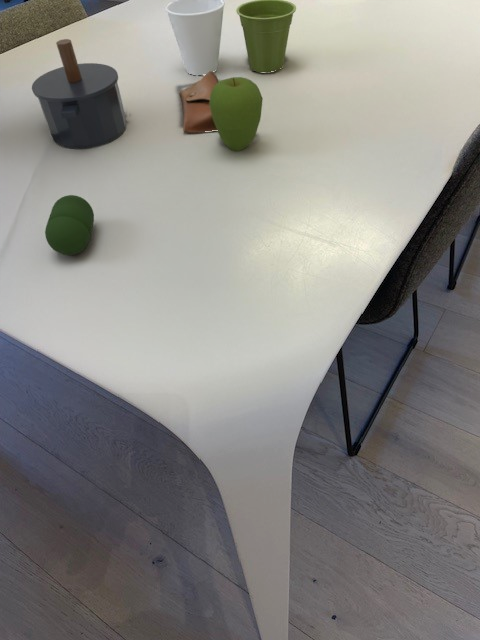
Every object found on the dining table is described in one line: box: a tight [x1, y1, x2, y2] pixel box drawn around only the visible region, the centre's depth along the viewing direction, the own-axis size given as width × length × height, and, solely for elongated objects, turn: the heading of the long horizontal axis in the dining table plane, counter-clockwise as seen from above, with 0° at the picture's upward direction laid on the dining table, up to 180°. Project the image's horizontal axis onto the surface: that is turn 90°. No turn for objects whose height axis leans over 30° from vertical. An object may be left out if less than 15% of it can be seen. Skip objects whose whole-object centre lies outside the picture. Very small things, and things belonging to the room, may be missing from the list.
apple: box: [209, 76, 264, 152], centre depth 79 cm, size 9×8×12 cm
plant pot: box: [235, 0, 297, 73], centre depth 102 cm, size 12×12×11 cm
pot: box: [37, 82, 128, 150], centre depth 88 cm, size 14×19×8 cm
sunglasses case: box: [179, 71, 220, 134], centre depth 92 cm, size 18×7×7 cm
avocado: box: [44, 194, 95, 256], centre depth 67 cm, size 10×6×6 cm, turn 3°
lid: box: [31, 38, 119, 102], centre depth 83 cm, size 15×15×7 cm
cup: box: [164, 0, 225, 76], centre depth 103 cm, size 12×12×12 cm
